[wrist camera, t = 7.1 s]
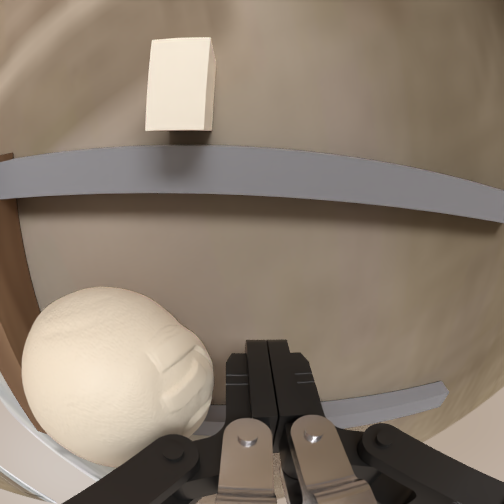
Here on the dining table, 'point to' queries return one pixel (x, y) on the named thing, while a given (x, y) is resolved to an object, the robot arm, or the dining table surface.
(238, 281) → the dining table surface
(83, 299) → the cream round ball
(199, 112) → the line posts
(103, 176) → the rails
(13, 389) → the backstop
